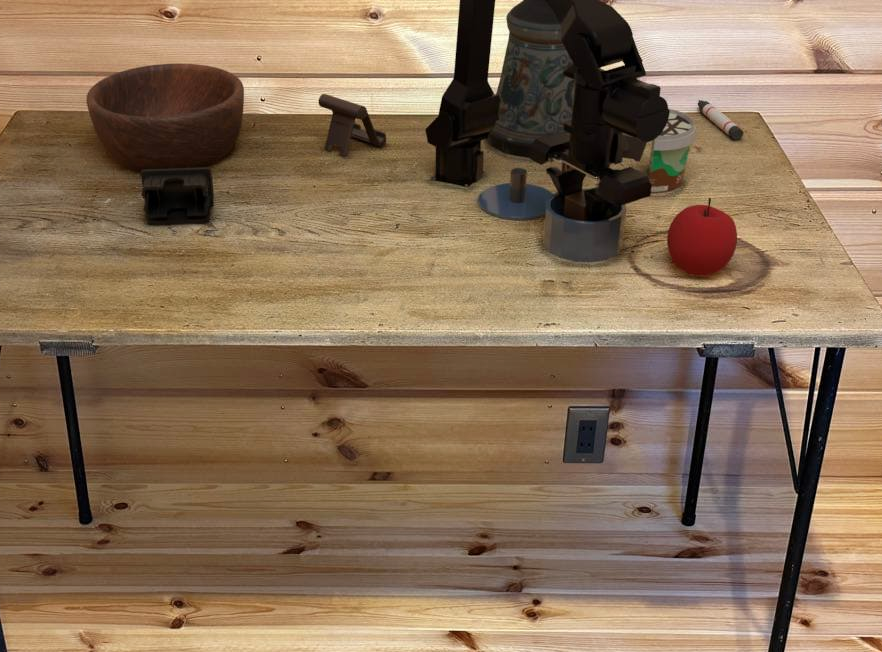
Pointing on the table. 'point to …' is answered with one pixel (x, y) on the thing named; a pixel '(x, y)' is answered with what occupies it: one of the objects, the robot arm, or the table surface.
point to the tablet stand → (349, 124)
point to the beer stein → (532, 80)
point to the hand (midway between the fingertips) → (583, 224)
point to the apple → (701, 240)
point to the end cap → (177, 195)
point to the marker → (720, 120)
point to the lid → (515, 198)
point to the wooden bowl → (167, 115)
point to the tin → (582, 233)
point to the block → (576, 207)
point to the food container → (671, 152)
